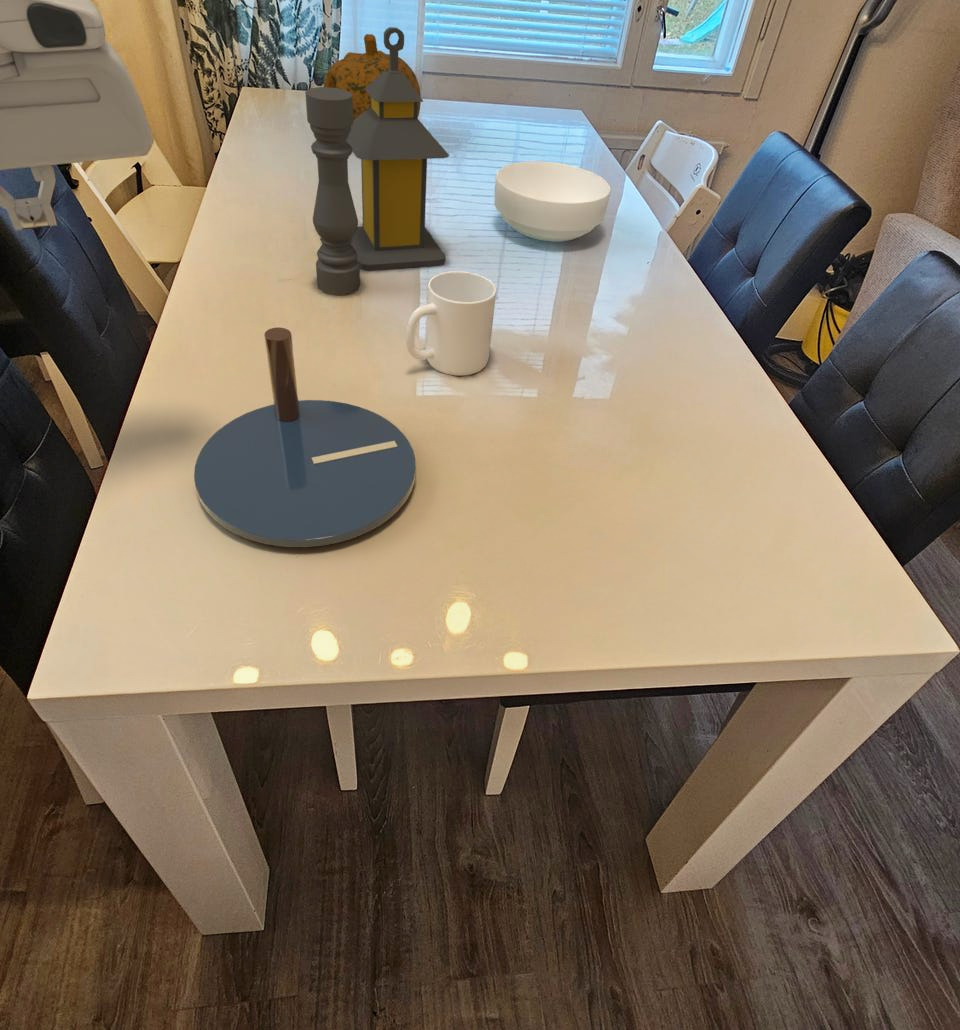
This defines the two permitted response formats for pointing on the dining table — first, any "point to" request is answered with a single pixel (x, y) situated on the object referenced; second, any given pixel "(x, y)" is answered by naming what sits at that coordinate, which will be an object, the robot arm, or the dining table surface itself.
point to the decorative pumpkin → (365, 74)
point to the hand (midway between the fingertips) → (36, 225)
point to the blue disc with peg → (303, 466)
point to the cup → (455, 323)
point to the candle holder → (333, 190)
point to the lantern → (394, 173)
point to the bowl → (550, 199)
